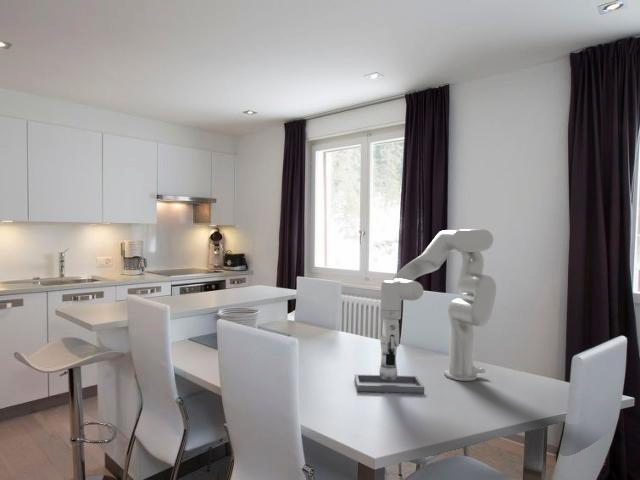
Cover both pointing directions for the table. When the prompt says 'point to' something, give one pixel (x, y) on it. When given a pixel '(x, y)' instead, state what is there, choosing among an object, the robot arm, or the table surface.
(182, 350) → the table surface
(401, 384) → the grey rectangular tray
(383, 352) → the plastic bottle
